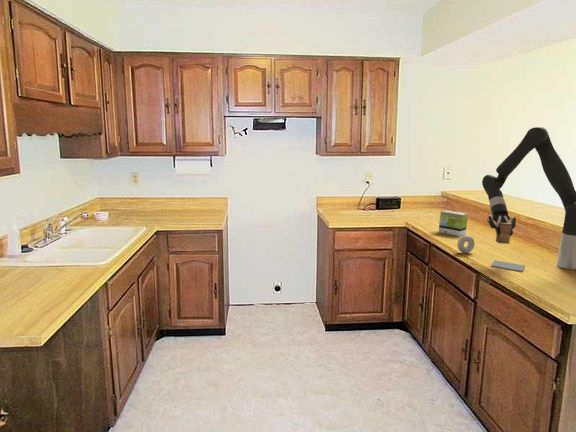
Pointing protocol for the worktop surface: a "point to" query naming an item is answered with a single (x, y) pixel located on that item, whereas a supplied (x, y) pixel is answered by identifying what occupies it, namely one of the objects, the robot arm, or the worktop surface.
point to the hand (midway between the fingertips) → (505, 234)
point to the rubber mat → (508, 266)
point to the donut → (470, 244)
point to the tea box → (453, 223)
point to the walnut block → (504, 233)
